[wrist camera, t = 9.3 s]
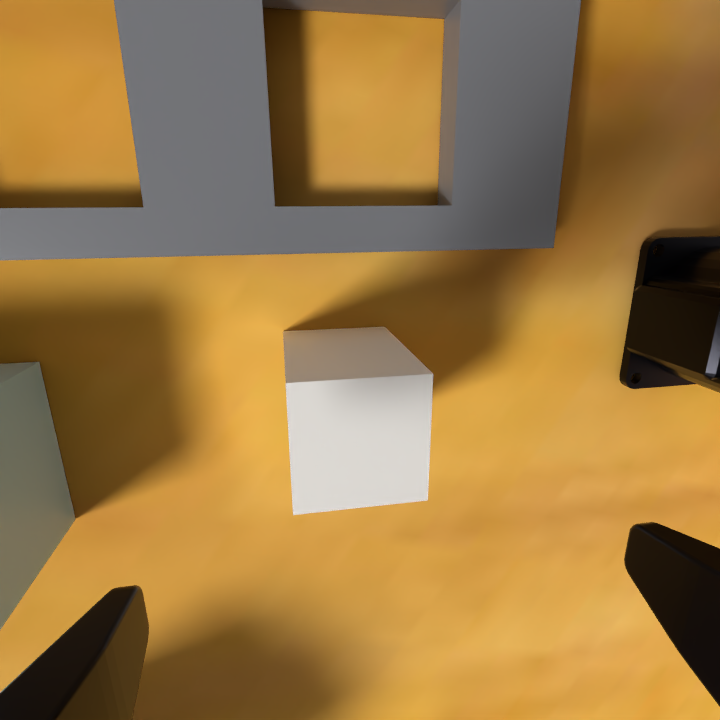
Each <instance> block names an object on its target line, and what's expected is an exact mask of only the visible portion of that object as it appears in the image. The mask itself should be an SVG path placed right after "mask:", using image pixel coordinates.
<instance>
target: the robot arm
mask: <svg viewBox="0 0 720 720" xmlns="http://www.w3.org/2000/svg"><path fill="white" fill-rule="evenodd" d="M655 246H656V247H657V250H656V253H655V254H653V250H654V247H655ZM633 374H635V375H634V378H633V379H632V380H631V377H632V375H633ZM620 382H621V383H622V384H623V385H625V386H627V387H629V388H632V389H639V388H651V387H664V386H677V385H689V384H699V385H701V386H704V387H706V388H709V389H711V390H714V391H717V392H719V393H720V236H699V237H653V238H649V239H647V240H646V241H645V242H644V243H643V245H642V247H641V250H640V256H639V262H638V268H637V274H636V280H635V286H634V292H633V298H632V304H631V310H630V316H629V322H628V328H627V334H626V341H625V347H624V353H623V359H622V365H621V371H620ZM624 561H625V567H626V569H627V572H628V574H629V575H630V577H631V578H632V580H633V582H634V583H635V585H636V586H637V588H638V589H639V591H640V593H641V594H642V596H643V597H644V599H645V600H646V602H647V604H648V605H649V607H650V608H651V610H652V611H653V613H654V614H655V616H656V618H657V619H658V621H659V622H660V624H661V625H662V627H663V629H664V630H665V632H666V633H667V635H668V636H669V638H670V639H671V641H672V642H673V644H674V645H675V647H676V648H677V650H678V651H679V653H680V654H681V656H682V657H683V658H684V660H685V661H686V662H687V664H688V665H689V667H690V668H691V669H692V671H693V672H694V673H695V675H696V676H697V677H698V678H699V680H700V681H701V682H702V684H703V685H704V686H705V688H706V689H707V690H708V692H709V693H710V694H711V696H712V697H713V698H714V700H715V701H716V702H717V704H718V705H719V706H720V549H719V548H717V547H714V546H712V545H709V544H707V543H705V542H702V541H700V540H697V539H695V538H692V537H690V536H687V535H685V534H682V533H680V532H678V531H675V530H673V529H670V528H668V527H665V526H663V525H660V524H658V523H654V522H649V523H641V524H635V525H633V526H632V528H631V529H630V532H629V537H628V542H627V547H626V553H625V558H624ZM148 635H149V624H148V618H147V613H146V607H145V602H144V597H143V592H142V590H141V588H140V587H139V586H137V585H134V586H126V587H118V588H114V589H112V590H111V591H109V592H108V593H107V594H106V595H105V596H104V597H103V598H102V599H101V600H100V601H98V602H97V603H96V604H95V605H94V606H93V607H92V608H91V609H90V610H89V611H88V612H87V613H86V614H84V615H83V616H82V617H81V618H80V619H79V620H78V621H77V622H76V623H75V624H74V625H73V626H72V627H70V628H69V629H68V630H67V631H66V632H65V633H64V634H63V635H62V636H61V637H60V638H59V639H58V640H56V641H55V642H54V643H53V644H52V645H51V646H50V647H49V648H48V649H47V650H46V651H45V652H44V653H42V654H41V655H40V656H39V657H38V658H37V659H36V660H35V661H34V662H33V663H32V664H31V665H29V666H28V667H27V668H26V669H25V670H24V671H23V672H22V673H21V674H20V675H19V676H18V677H17V678H15V679H14V680H13V681H12V682H11V683H10V684H9V685H8V686H7V687H6V688H5V689H4V690H3V691H1V692H0V720H132V717H133V712H134V707H135V702H136V697H137V692H138V687H139V682H140V677H141V672H142V667H143V662H144V657H145V652H146V647H147V642H148Z"/></svg>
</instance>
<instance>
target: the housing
mask: <svg viewBox="0 0 720 720" xmlns="http://www.w3.org/2000/svg"><path fill="white" fill-rule="evenodd" d="M74 521H75V515H74V510H73V506H72V502H71V497H70V493H69V489H68V484H67V480H66V476H65V471H64V467H63V463H62V459H61V454H60V450H59V446H58V441H57V437H56V433H55V428H54V424H53V420H52V415H51V411H50V407H49V402H48V398H47V394H46V389H45V385H44V381H43V376H42V372H41V368H40V363H39V362H25V363H7V364H0V629H1V628H2V627H3V625H4V624H5V622H6V621H7V619H8V618H9V616H10V615H11V613H12V612H13V610H14V609H15V607H16V606H17V604H18V603H19V602H20V600H21V599H22V597H23V596H24V594H25V593H26V591H27V590H28V588H29V587H30V585H31V584H32V582H33V581H34V580H35V578H36V577H37V575H38V574H39V572H40V571H41V569H42V568H43V566H44V565H45V563H46V562H47V560H48V559H49V558H50V556H51V555H52V553H53V552H54V550H55V549H56V547H57V546H58V544H59V543H60V541H61V540H62V538H63V537H64V535H65V534H66V533H67V531H68V530H69V528H70V527H71V525H72V524H73V522H74Z"/></svg>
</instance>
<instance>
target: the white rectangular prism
mask: <svg viewBox="0 0 720 720" xmlns="http://www.w3.org/2000/svg"><path fill="white" fill-rule="evenodd" d="M283 339H284V359H285V378H286V396H287V414H288V432H289V450H290V467H291V485H292V503H293V515H298V514H307V513H316V512H325V511H334V510H343V509H353V508H362V507H371V506H380V505H389V504H398V503H407V502H417V501H426V500H428V484H429V461H430V438H431V415H432V392H433V373H432V372H431V371H430V370H429V369H428V368H427V367H426V366H425V365H424V364H423V363H422V362H421V361H420V360H419V359H418V358H416V357H415V356H414V355H413V354H412V353H411V352H410V351H409V350H408V349H407V348H406V347H405V346H404V345H403V344H402V343H401V342H400V341H399V340H398V339H397V338H396V337H395V336H394V335H393V334H392V333H391V332H390V331H389V330H388V329H387V328H386V327H365V328H342V329H320V330H297V331H283Z"/></svg>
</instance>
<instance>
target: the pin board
mask: <svg viewBox="0 0 720 720" xmlns="http://www.w3.org/2000/svg"><path fill="white" fill-rule="evenodd" d="M114 4H115V11H116V18H117V25H118V32H119V39H120V46H121V53H122V60H123V67H124V74H125V81H126V88H127V95H128V102H129V109H130V116H131V123H132V130H133V137H134V144H135V151H136V158H137V165H138V172H139V179H140V186H141V193H142V201H143V207H115V208H0V260H36V259H81V258H126V257H171V256H216V255H260V254H305V253H350V252H395V251H439V250H484V249H529V248H554V240H555V231H556V222H557V213H558V204H559V195H560V185H561V176H562V167H563V158H564V149H565V140H566V131H567V122H568V113H569V104H570V95H571V86H572V77H573V68H574V59H575V50H576V41H577V32H578V23H579V14H580V5H581V0H114ZM263 8H279V9H295V10H311V11H327V12H343V13H359V14H375V15H391V16H407V17H423V18H439V19H444V45H443V72H442V99H441V125H440V152H439V179H438V206H284V207H275V197H274V181H273V165H272V149H271V133H270V117H269V101H268V84H267V68H266V52H265V36H264V20H263Z"/></svg>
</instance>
